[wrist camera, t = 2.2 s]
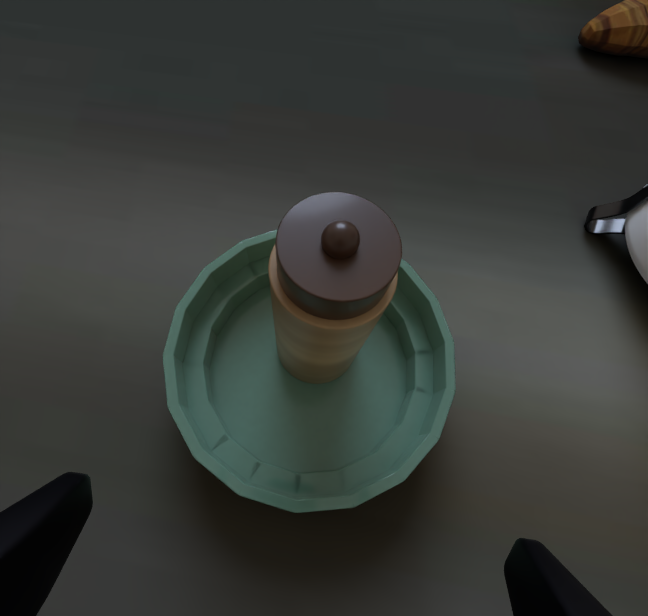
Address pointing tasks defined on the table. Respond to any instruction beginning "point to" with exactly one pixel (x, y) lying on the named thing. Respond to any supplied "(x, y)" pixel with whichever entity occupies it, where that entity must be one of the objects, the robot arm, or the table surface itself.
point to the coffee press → (625, 225)
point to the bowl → (304, 391)
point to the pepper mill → (330, 282)
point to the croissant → (619, 30)
